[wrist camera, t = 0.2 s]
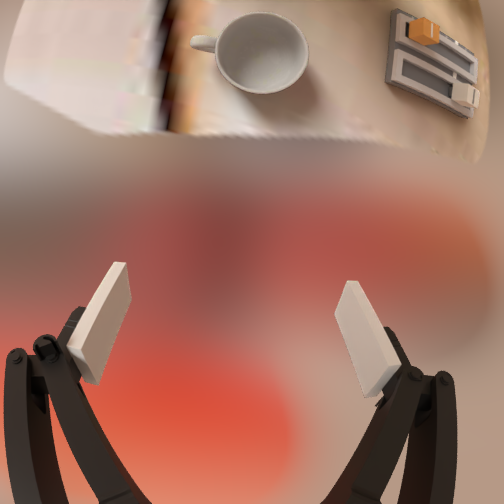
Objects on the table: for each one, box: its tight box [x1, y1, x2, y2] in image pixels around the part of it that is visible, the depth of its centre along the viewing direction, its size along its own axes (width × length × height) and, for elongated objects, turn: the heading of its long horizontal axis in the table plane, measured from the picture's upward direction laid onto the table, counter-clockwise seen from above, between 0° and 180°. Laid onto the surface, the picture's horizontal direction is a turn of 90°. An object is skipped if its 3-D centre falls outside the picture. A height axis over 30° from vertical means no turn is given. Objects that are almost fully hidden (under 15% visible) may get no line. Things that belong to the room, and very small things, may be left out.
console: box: [385, 9, 478, 119], centre depth 29 cm, size 14×18×3 cm
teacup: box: [190, 12, 309, 94], centre depth 28 cm, size 14×11×8 cm
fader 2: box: [449, 83, 480, 109], centre depth 28 cm, size 3×3×5 cm
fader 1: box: [406, 17, 440, 46], centre depth 24 cm, size 3×3×5 cm
